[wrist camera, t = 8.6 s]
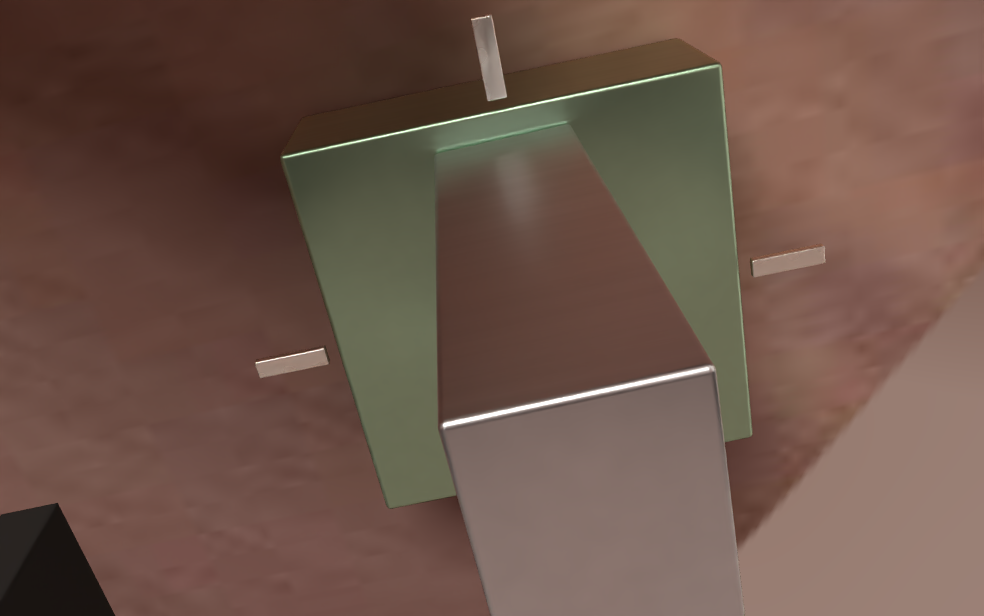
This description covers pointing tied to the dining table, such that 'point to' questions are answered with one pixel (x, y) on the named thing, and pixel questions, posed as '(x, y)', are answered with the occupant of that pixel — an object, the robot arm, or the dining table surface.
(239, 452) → the dining table surface
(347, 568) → the dining table surface
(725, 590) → the tap handle
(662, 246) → the tap panel
